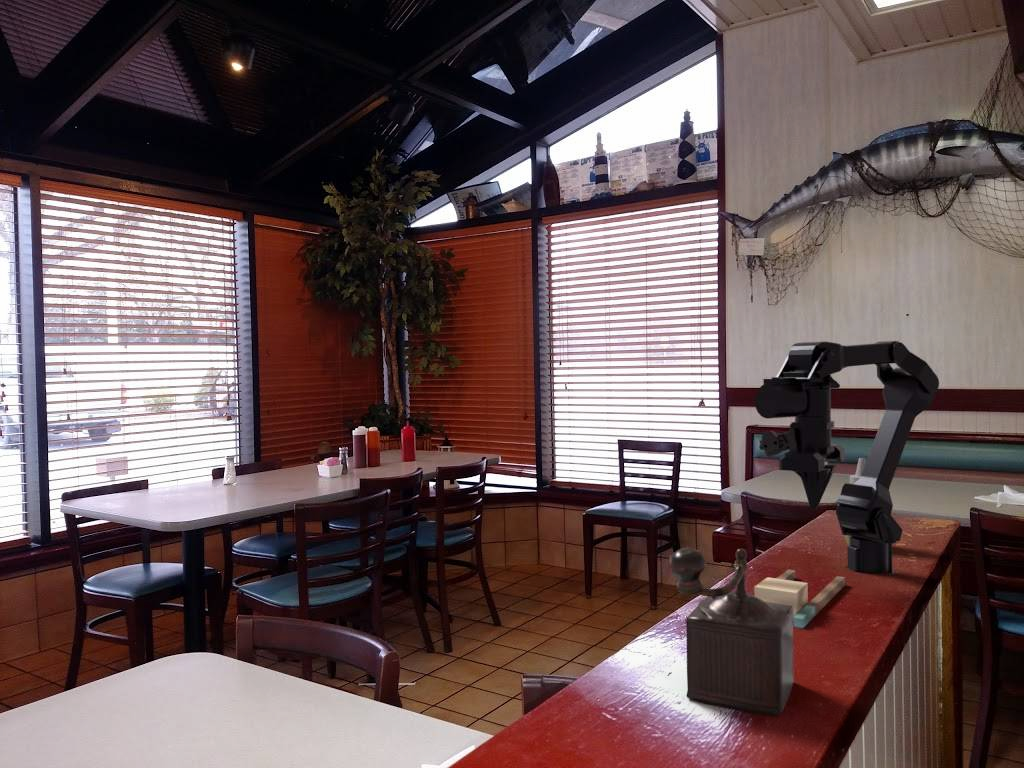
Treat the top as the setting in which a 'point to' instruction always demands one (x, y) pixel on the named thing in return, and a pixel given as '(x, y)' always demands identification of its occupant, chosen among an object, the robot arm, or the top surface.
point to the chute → (818, 601)
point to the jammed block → (783, 593)
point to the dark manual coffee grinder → (735, 641)
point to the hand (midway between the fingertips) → (813, 507)
